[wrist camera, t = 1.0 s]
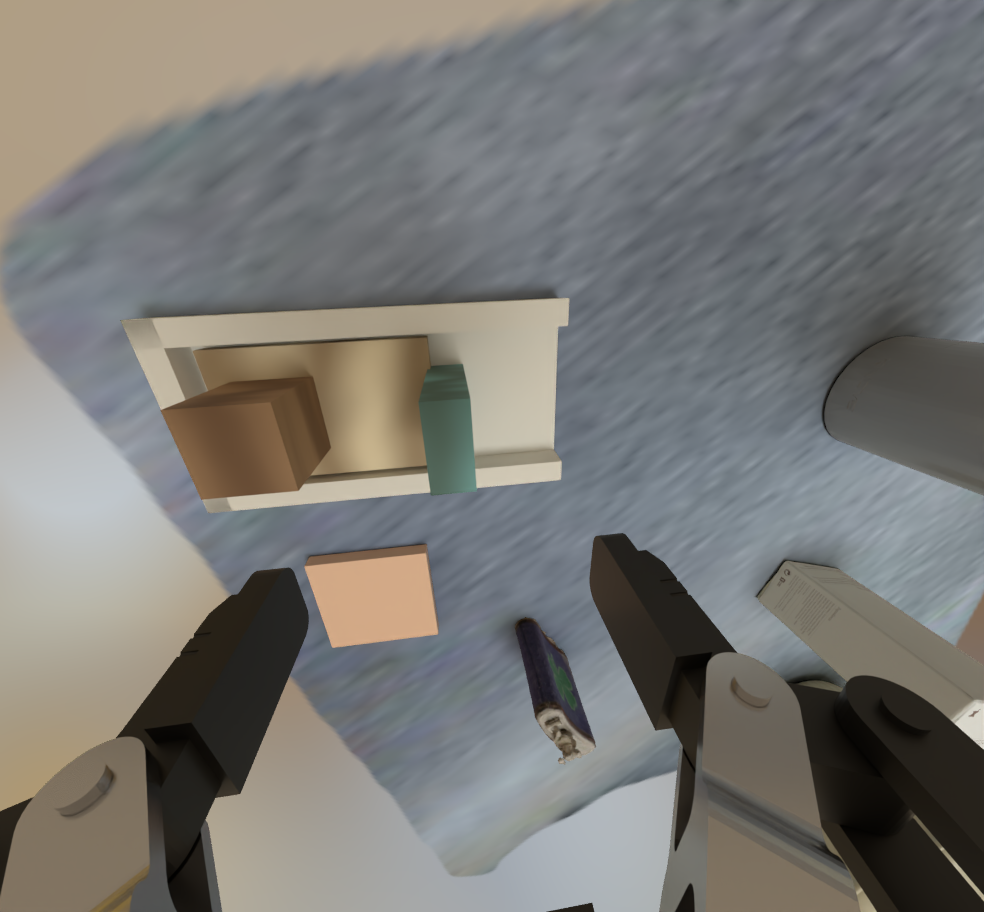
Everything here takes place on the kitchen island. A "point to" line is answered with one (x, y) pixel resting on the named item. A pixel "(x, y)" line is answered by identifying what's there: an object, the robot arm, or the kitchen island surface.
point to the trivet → (374, 594)
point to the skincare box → (876, 640)
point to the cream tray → (452, 340)
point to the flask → (554, 692)
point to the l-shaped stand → (371, 402)
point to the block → (250, 436)
